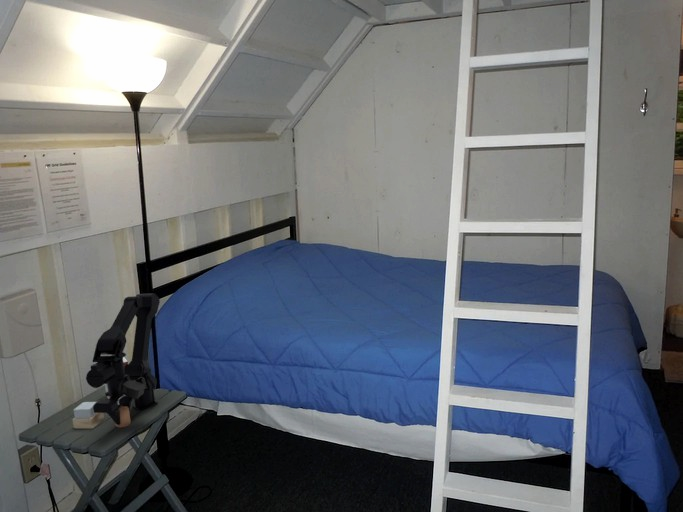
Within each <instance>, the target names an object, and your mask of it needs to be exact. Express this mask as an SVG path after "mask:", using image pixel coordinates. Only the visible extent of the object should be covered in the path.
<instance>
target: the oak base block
mask: <svg viewBox="0 0 683 512" xmlns="http://www.w3.org/2000/svg"><path fill="white" fill-rule="evenodd" d="M104 420H105V413H97V414H95V415H94V416H93V417H92V418H75V417H73V418H72V425H73V429H94V428H95V427H96V426H98V425H99V424H100V423H101V422H102V421H104Z"/></svg>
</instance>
